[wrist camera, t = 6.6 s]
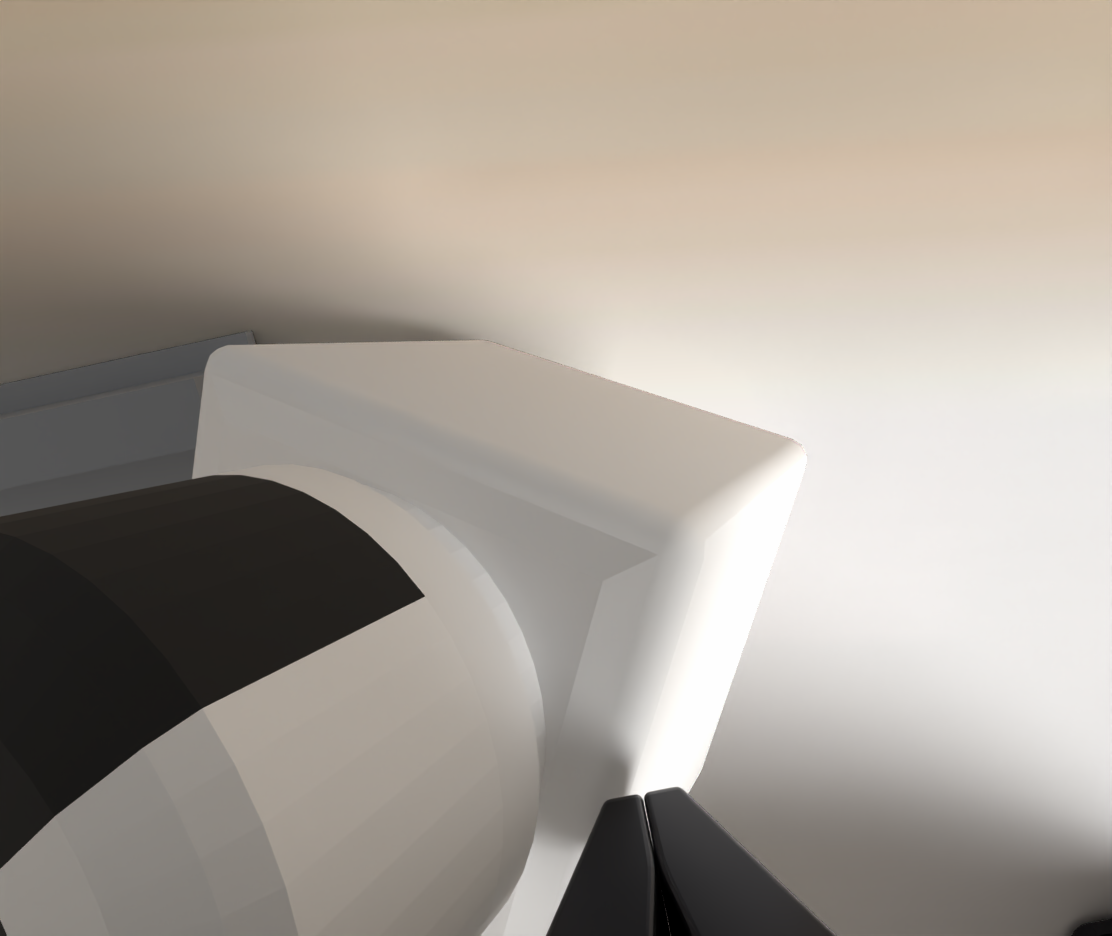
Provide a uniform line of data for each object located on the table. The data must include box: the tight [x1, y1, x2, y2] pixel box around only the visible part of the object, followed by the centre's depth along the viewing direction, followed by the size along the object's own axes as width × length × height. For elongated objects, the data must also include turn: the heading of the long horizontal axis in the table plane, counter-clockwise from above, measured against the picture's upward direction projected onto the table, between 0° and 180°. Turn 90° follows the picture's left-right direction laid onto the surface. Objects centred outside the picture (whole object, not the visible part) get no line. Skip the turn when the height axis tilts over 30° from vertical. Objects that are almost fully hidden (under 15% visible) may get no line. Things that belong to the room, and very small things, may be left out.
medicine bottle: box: [0, 340, 807, 936], centre depth 11 cm, size 7×7×12 cm
